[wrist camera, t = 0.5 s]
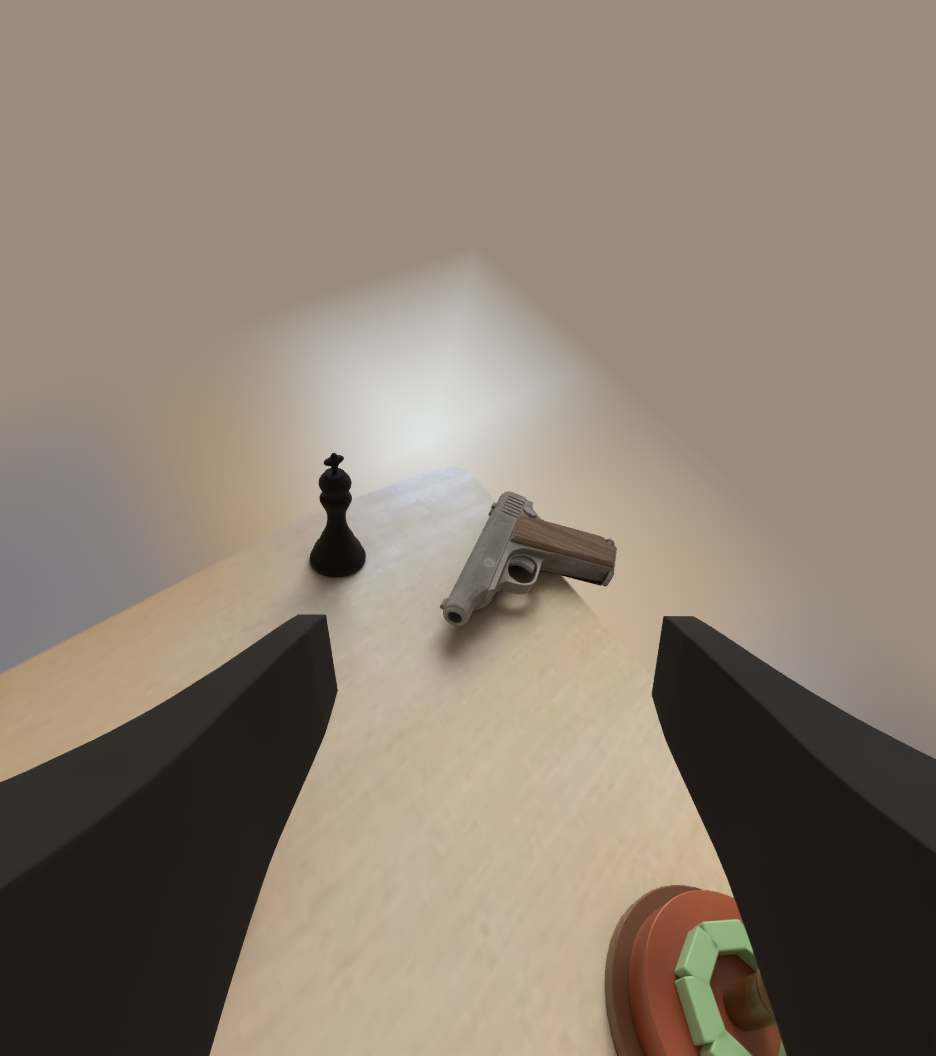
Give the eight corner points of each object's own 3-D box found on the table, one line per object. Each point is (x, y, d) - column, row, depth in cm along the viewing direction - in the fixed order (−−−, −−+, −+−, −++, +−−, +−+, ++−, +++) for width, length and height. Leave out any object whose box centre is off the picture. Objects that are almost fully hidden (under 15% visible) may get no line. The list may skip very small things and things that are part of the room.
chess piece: (299, 555, 39) (287, 448, 33) (344, 534, 42) (341, 432, 36) (331, 585, 37) (325, 477, 31) (376, 561, 40) (379, 457, 34)
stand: (870, 1172, 18) (1035, 1189, 14) (650, 1212, 17) (753, 1244, 12) (744, 885, 25) (826, 834, 21) (581, 896, 24) (631, 844, 19)
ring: (838, 1095, 17) (855, 1094, 17) (713, 1113, 17) (727, 1113, 16) (761, 921, 21) (773, 915, 21) (657, 930, 21) (667, 924, 20)
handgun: (586, 694, 34) (433, 623, 35) (606, 557, 46) (492, 507, 47) (606, 670, 32) (443, 596, 33) (622, 534, 44) (502, 482, 45)
